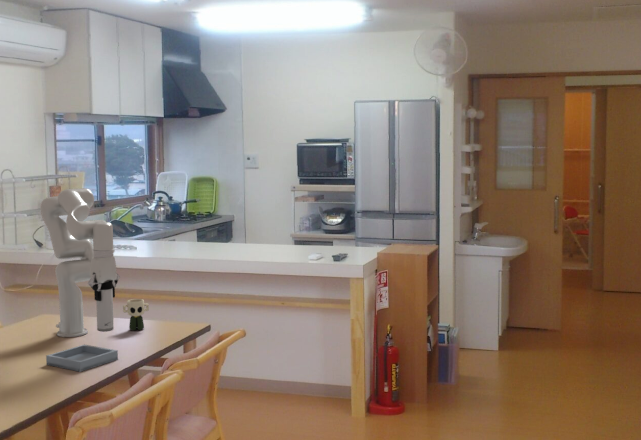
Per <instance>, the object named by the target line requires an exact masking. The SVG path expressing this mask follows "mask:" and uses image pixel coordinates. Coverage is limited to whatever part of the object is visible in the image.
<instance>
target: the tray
mask: <svg viewBox="0 0 641 440" xmlns="http://www.w3.org/2000/svg"><path fill="white" fill-rule="evenodd" d="M118 354H119V353H118V350H117V349H113V348H112V349H111V348H105V347H100V346H95V345H89V344H85V343H84V344H81V345H78V346H74V347H70V348H68V349H67V348H66V349H65V350H60V351H58V352H54V353H50V354H47V355H46V358H45V359H46V366H51V367H56V368H60V369H65V370H70V371H74V372H80V373H81V372H83V371H87V370H90V369H93V368H96V367H100V366H102V365H105V364H107V363H112V362H114V361H115V362H116V361H117V360H119V356H118Z"/></svg>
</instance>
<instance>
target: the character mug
mask: <svg viewBox="0 0 641 440" xmlns="http://www.w3.org/2000/svg"><path fill="white" fill-rule="evenodd" d="M126 302H127V304H124V305H122V312H123V313H127V315H128V316H130V317H129V327H128V328H129V330H130V331H136V330H139V331H140V330H143V329H145V323H144V319H143V318H144V317H143V316H142V315H144V314H145V312H148V311H149V310H150V307H149V305H150V304H149V303H145V300H144V299H142V298H131V299H128V300H127V301H126ZM145 306H146V308H145ZM126 308H127V309H126Z"/></svg>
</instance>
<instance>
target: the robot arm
mask: <svg viewBox="0 0 641 440" xmlns="http://www.w3.org/2000/svg"><path fill="white" fill-rule="evenodd" d="M94 202H95V195H94V193H93V192H92V191H91V190H90V189H89V188H87V187H86V188H85V187H84V188H68V189H64V190H61V191H60V192H58V195H57V196H56V195H55V196H49V197H46V198H44V199H42V201H41V203H40V208H39V209H40V215H41V218H42V221H43V222H44V224H45V226H46V228H47V230H48V232H49V237H50V241H51V245H52V249H53V253H54V255H55V258H57V259H58V260H65V261H61V262H59V263H58V264H57V265H56V267H55V269H54V270H55V271H54V274H55V278H56V283H57V288H58V301H59V302H58V303H59V304H58V305H59V322H58V324H56V325H55V327H56V328H58V331H57V332H56V335H57V336H58V337H61V338H73V337H81V336H85V335H86V334H88V333H89V332H88V331H89V330H88V328H85V327H84V326H85V324H84V322H85V321H84V305H83V303H84V302H83V300H84V299H83V292H82V290H81V288H80V287H79V286H78V285H77V283H81V282H82V283H83V282H87V284H88V286H90V288H91V289H92V290H93V291H94V292H93V293H94V301H101V300H102V299H101V291H100V288H101V285H102V283H106V282H109V281H111V280H113V282H112V288H113V289H112V290H113V299H115V297H116V289H115V288H116V287H117V284H118V282H119V280H120V279H121V276H120V275H119V274H118V273H117V271H118V269H117V263H116V258H115V256H114V254H115V252H116V251H115V249H114V232H113V231H114V230H113V229H114V228H113V227H114V226H113V224H112V223H111V222H107V221H105V219H104V220H103V219H95V220H93V219H92V220H86V219H87V218H88V217H89V216H90V212H91V210H90V209H91V208H92V207H93V205H94V204H95V203H94ZM61 216H64V217H65V216H66V221H65V220H64V219H63V218H61ZM91 240H92V242H91ZM69 259H70V260H69ZM71 259H72V260H71ZM73 259H74V260H73ZM97 284H98V287H97Z"/></svg>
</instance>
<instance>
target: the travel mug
mask: <svg viewBox="0 0 641 440" xmlns="http://www.w3.org/2000/svg"><path fill="white" fill-rule="evenodd" d="M112 282H113V280H111V281H109V282H106V283H102V285H101V288H100V291H101V299H102V300H101V301H96V300H95V301H96V302H95V303H96V330H97V331H98V332H101V333H102V332H103V333H104V332H105V333H106V332H112V331H113V330H114V328H115V327H114V298H113V290H112V289H113V288H112ZM97 287H98V284H97Z"/></svg>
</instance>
